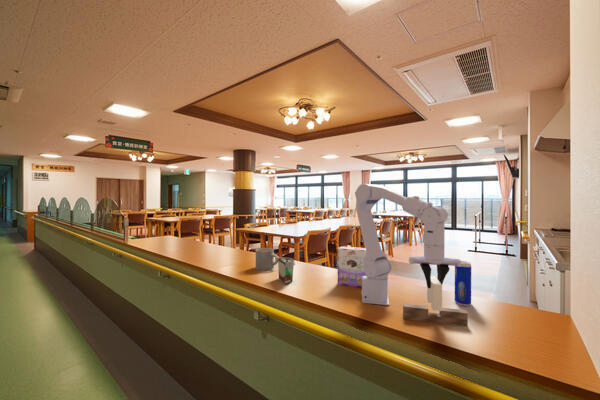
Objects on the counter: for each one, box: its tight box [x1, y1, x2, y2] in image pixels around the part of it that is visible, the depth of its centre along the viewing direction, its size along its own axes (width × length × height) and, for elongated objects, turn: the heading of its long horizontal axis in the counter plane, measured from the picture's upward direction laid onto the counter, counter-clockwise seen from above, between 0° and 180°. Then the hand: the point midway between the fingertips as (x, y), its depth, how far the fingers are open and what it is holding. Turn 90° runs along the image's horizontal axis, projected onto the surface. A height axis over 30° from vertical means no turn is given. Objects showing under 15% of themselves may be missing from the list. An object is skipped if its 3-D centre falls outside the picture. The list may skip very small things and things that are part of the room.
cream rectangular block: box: [426, 275, 443, 312], centre depth 83 cm, size 8×2×8 cm, turn 166°
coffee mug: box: [255, 247, 279, 271], centre depth 144 cm, size 13×10×10 cm
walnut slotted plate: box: [402, 303, 469, 327], centre depth 83 cm, size 18×2×4 cm, turn 74°
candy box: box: [336, 245, 367, 289], centre depth 117 cm, size 14×6×16 cm, turn 63°
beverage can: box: [454, 260, 472, 307], centre depth 96 cm, size 5×5×15 cm
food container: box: [277, 256, 296, 285], centre depth 123 cm, size 12×6×10 cm, turn 22°
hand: (434, 287), depth 83 cm, fingers closed on cream rectangular block, 2 cm apart
